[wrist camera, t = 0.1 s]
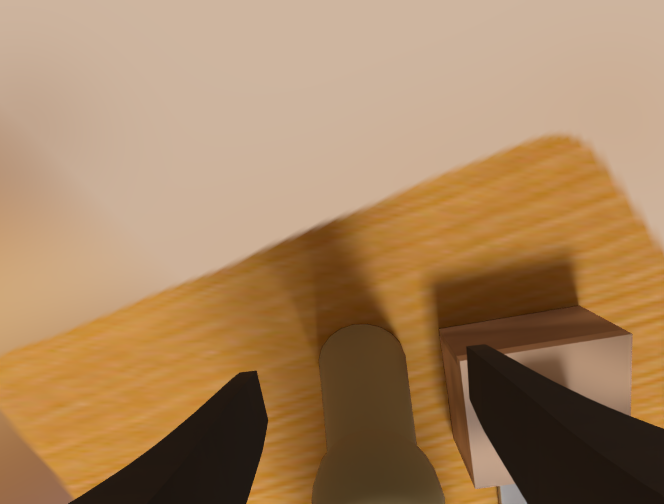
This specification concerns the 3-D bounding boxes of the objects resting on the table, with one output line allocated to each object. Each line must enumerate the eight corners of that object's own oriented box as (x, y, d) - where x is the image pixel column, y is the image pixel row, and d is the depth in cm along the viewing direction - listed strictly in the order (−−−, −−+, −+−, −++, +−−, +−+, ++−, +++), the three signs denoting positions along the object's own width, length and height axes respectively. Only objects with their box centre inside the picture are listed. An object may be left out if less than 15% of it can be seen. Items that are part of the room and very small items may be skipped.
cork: (379, 308, 20) (422, 454, 9) (421, 377, 21) (501, 579, 11) (302, 349, 21) (261, 525, 10) (346, 414, 22) (350, 633, 11)
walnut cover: (581, 421, 22) (684, 525, 15) (453, 439, 22) (499, 546, 16) (579, 305, 20) (696, 368, 13) (439, 328, 20) (484, 399, 14)
